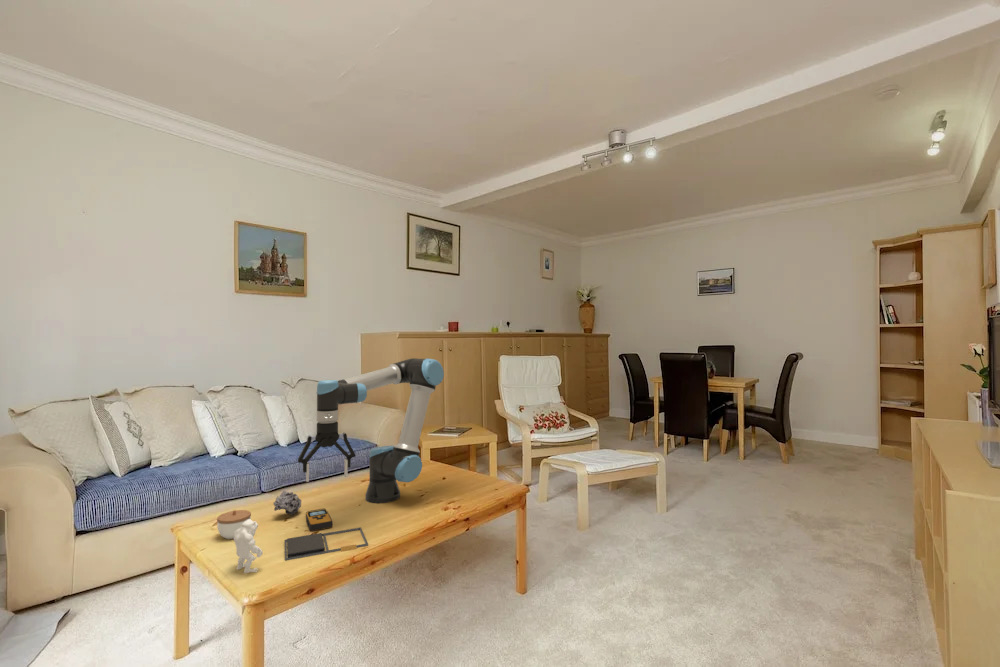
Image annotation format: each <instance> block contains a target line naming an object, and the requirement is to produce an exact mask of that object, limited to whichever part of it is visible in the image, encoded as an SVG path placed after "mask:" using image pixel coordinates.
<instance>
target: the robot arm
mask: <svg viewBox="0 0 1000 667" xmlns="http://www.w3.org/2000/svg"><path fill="white" fill-rule="evenodd" d="M444 372H445V371H444V367H443V366H442V364H441V362H439V360H437V359H435V358H434V359H433V358H413V357H412V358H407V359H404V360H400V361H397V362H395V363H391V364H389V365H388V367H384V368H380V369H376V370H373V371H370V372H366V373H362V374H357V375H354V376H351V377H347V378H343V379H339V380H335V379H329V380H328V379H324V380H318V382H317V386H316V422H317V423H316V434H315V435H310V434H309V435H307V439H306V443H305V445H304V447H303V448H302V450H301V452H300V454H299V456H298V458H297V462H298V463H300V464H302V472H303V473H305V482H306V483H308V482H310V462H309V461H310V460H311V459H312V457H313V456H314V455H315V453H317V451H319V450H320V448H321V447H322V448H326V447H330V448H331V447H333V446H335V447H336V449H338V450H339V451H340V452H341V453H342V455H343V456H345V458H344V460H343V461H344V464H343V466H344V472H343V473H344V477H345V478H348V473H349V472H348V469H349V468H351V459H353V458H356V453H355V451H354V449H353V448H352V446H351V444H350V442H349V440H348V435H347V433H346V432H343V433H339V422H338V420H339V405H344V404H345V405H346V404H358V403H361V402H364V401H365V400H366V399H367V397H368V391H371V390H373V389H378V388H381V387H384V386H388V385H391V384H394V385H399V384H409V387H410V389H411V392H410V396H409V400H408V402H407V403H408V404H407V407H406V411H405V416H404V420H403V423H402V427H401V431H400V434H399V438H398V443H396V444H395V445H383V446H381V445H380V446H377V447H373V448H371V449H370V451H369V456H368V460H369V463H368V464H369V465H368V466H369V471H368V472H369V482H368V486H367V489H366V493H365V495H364V496H365V500H364V501H366V502H368V503H370V504H387V503H388V504H389V503H392V502H395V501H398V500H399V499H400V497H401V491H400V488H399V485H398V482H400V483H401V482H402V483H411V482H412V481H415V480H416V479H417V478H418V477H419V476H420V474H421V472H422V469H423V462H422V458H421V457H420V454H421V451H420V449H419V443H420V439H421V435H422V430H423V426H424V423H425V419H426V414H427V410H428V406H429V402H430V398H431V394H432V393H434V392H435V391H436V389H437V388H436V386H438V385H440V384H441V383H442V382H443V380H444V376H445V373H444ZM339 439H341V440H343V442H344V444H345V445H346V447H347V449H348V452H349V453H350V454H349V453H348V452H347V451H346V450H345V449H344V447H342V446H341V445H340V444H339V443H338V440H339ZM314 440H315V441H316V442H317V443H315V446H314V447H313V448H312V449H311V450H310V452H308V450H309V448H310V446H311V444H312V443H313V442H314ZM307 452H308V454H307ZM306 454H307V455H306ZM397 481H398V482H397Z"/></svg>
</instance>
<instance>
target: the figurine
mask: <svg viewBox="0 0 1000 667" xmlns="http://www.w3.org/2000/svg"><path fill="white" fill-rule="evenodd" d="M258 527H259V524H258V522H257V521H256V520H254V521H253V520H252V519H248V520H247V521H245V522H243V523H242V527H241V528H239V529H237V530H236V531H235V532H234V539H233V540H234V541H233V542H234V544H235V549H236V556H237V557H239V558H238V559H237V566H236V570H241V569H243V568H244V571H243V574H248V573H257V572H258V570H259V568H257V567H255V568H251V565H252V563H253V561H255V560H257V558H261V557H262V555H263V550H262V549H261V547H259V546H258V545H256V540H255V538H254V536H255V535H256V530H257V529H258ZM254 554H255V555H256V556H255V555H254ZM245 561H246V562H245Z"/></svg>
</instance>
